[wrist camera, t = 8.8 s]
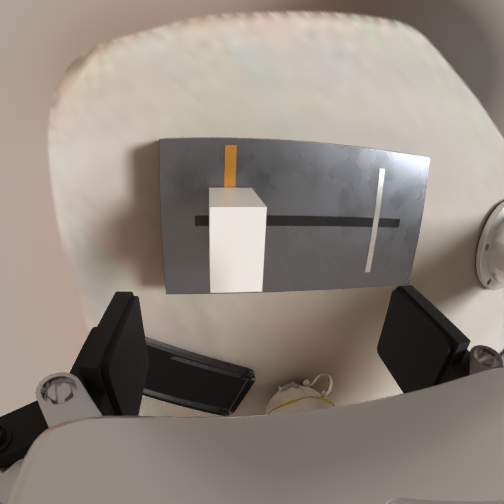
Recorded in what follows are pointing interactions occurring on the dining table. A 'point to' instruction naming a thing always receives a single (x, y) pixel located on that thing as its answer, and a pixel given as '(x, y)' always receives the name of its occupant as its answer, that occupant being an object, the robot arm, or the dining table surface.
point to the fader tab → (236, 240)
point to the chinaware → (300, 397)
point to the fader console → (295, 210)
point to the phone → (195, 379)
